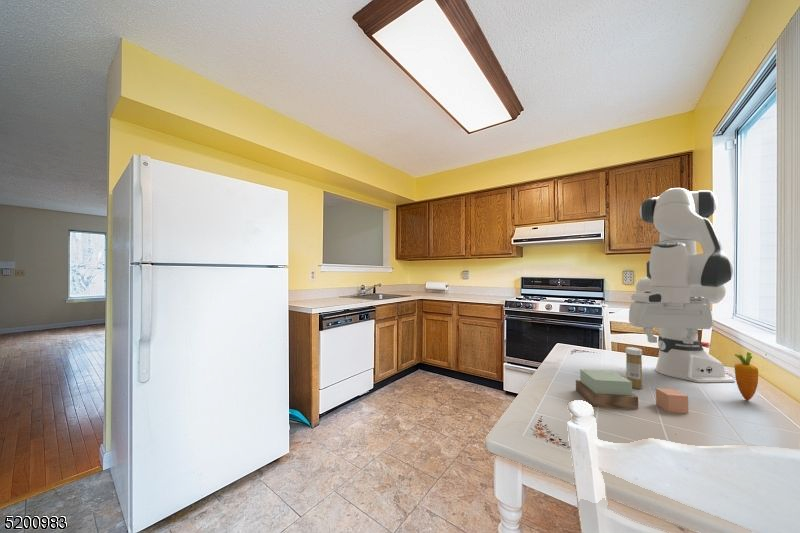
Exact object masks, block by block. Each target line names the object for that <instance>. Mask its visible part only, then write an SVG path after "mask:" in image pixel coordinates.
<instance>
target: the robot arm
mask: <svg viewBox="0 0 800 533" xmlns="http://www.w3.org/2000/svg"><path fill="white" fill-rule="evenodd" d="M717 207H718V199H717V196H716V195H715V193H714V192H713V191H711V190H706V189H705V190H702V189H701V190H698V191H689V190H687V189H686V188H682V187H673V188H669V189H667V190H665V191H663V192H662V193H661V194H660V195H659V196H657V197H654V196H653V197H649V198H646V199H645V200H643V201H642V203H641V205H640V207H639V215H640V217H641V218H640V219H642V221H643V222H644V223H647V224H648V223H649V224H653V225H654V229H655V230H656V231H658V232H659V236H658V238H659V239H658V243H655V244H653V245H652V246H651V249H650V254H649V255H650V256H649V260H648V261H647V262H646V276H645V277H641V278H640V279H639V280H638V282H637V283H636V286H635V293H633V294H631V296H630V297H631V301H633V302H631V303H630V305H629V309H628V310H629V311H628V322H629V324H631V325H632V326H633V327H636V328H637V327H638V328H642V330H643V332H644V333H645V335H646V337H647V342H648V343H651V344H652V343H654V344H655V343H657V345H658V350H659V351H658V357H657V358H658V359H657V362H656V366H655V368H654V371H656V372H658V373H659V374H662V375H665V376H669V377H672V378H677V379H683V380H688V381H691V382H695V383H735V382H736V379H735V378H734V377H732V376H730V375H728V374H727V373H726V371H725V370H726V369H725V367H724V364H723V363H722V362H721V361H720V360H718V359H717V358H715V357H714V356H713V355H711V354H709V352H707V351H705V350H704V348H706V349H710V348H711V343H709V342H707V341H701V340H699V339H698V337H699V330H710V329H711V328H712V327H713V325H714V321H713V314H712V311H711V305H712V304H713V305H714V304H718V303H720V302H722V300H724V297H725V296H726V291H727V290H726V286H725V284H727V283H728V282H730V281H731V280H732V277H733V273H734V270H733V265H732V262H731V261H730V259H729V257H728V256H727V254H726V253H725V251H724V248H723V246H722V244H721V241H720V239H719V236H718V234H717V231H716V230H715V227H714V226H713V224H712V222H711V221H710V219H709V218H710V217H712V215H713V214H714V213H715V211H716V209H717ZM697 243H699V245H700V247H701V249H702V253H698V251H697ZM654 328H655V329H656V328H657V329H659V335H658V336H654V334H653V331H654Z"/></svg>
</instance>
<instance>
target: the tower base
mask: <svg viewBox="0 0 800 533" xmlns="http://www.w3.org/2000/svg"><path fill="white" fill-rule="evenodd" d="M575 391H576V392H577V393H578V394H579V395H580V396H581V397H582V398H583V399H585V400H586V402H588V403H589V404H590V405H591V406H593V407H595V408H597V407H598V408H609V409H624V410H625V409H626V410H627V409H628V410H639V397H638V396H637V395H636V394H634V393H632V395H615V394H598V393H595V392H593V391H592V390H591V389H589V388H588V387H587V386H586V385H584V384H583V383H582V382H581V381H580V379H576V380H575Z"/></svg>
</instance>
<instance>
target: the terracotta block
mask: <svg viewBox="0 0 800 533" xmlns="http://www.w3.org/2000/svg"><path fill="white" fill-rule="evenodd" d="M655 405H656V406H658V407H659V406H660V408H661V409H663V410H664V409H665V410H664V411H666V412H667V413H673V412H678V413H677V414H689V395H686V394H685V393H684V392H683V393H682V392H681V391H678V390H677V389H674V388H660V387H659V388H658V387H656V388H655Z"/></svg>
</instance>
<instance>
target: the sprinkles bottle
mask: <svg viewBox="0 0 800 533" xmlns="http://www.w3.org/2000/svg"><path fill="white" fill-rule="evenodd" d="M625 354H626V361H625V362H626V364H625V365H626V369H625V370H626V372H625V373H626V379H628V380H629V381H631V382H632V389H638V390H639V389H643V388H644V387H643V365H642V364H643V361H642V360H643V359H642V356H643V349H641V348H638V347H634V346H633V347H632V346H631V347H630V346H627V347H625Z"/></svg>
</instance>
